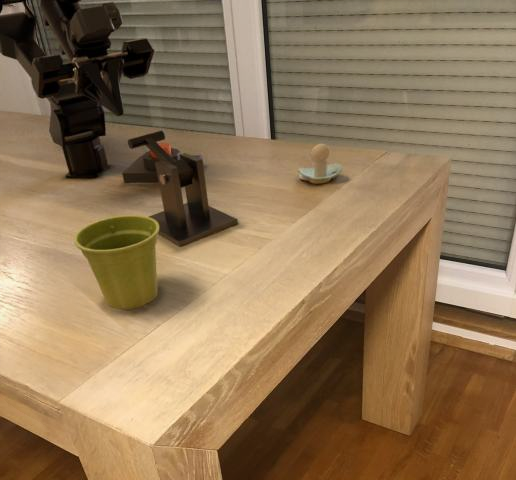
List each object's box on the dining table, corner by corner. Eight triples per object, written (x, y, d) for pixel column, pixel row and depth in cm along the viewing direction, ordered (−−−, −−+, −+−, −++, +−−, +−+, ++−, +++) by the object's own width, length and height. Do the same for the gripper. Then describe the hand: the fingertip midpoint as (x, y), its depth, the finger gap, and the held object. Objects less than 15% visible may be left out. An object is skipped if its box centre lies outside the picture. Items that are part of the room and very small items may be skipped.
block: (124, 185, 100) (119, 162, 97) (142, 167, 107) (138, 146, 105) (189, 185, 97) (185, 162, 95) (203, 167, 104) (200, 145, 102)
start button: (148, 159, 99) (146, 149, 98) (155, 152, 102) (153, 142, 101) (167, 159, 98) (166, 149, 97) (174, 152, 101) (172, 142, 100)
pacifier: (293, 177, 97) (302, 188, 92) (291, 139, 93) (300, 149, 88) (334, 171, 98) (345, 182, 93) (334, 133, 94) (345, 142, 89)
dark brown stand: (141, 226, 85) (127, 161, 79) (197, 206, 89) (187, 143, 84) (180, 249, 78) (167, 180, 72) (238, 226, 82) (231, 159, 76)
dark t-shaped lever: (127, 149, 82) (127, 134, 81) (160, 139, 85) (160, 125, 83) (169, 191, 78) (169, 177, 76) (202, 180, 80) (203, 166, 79)
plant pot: (99, 282, 72) (81, 218, 67) (173, 274, 72) (161, 210, 67) (87, 323, 64) (66, 255, 59) (170, 314, 64) (156, 245, 59)
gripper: (11, -8, 75) (67, 91, 74) (135, -24, 84) (187, 64, 83) (12, 53, 85) (61, 141, 84) (123, 33, 94) (168, 113, 93)
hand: (121, 114), depth 86 cm, fingers closed
